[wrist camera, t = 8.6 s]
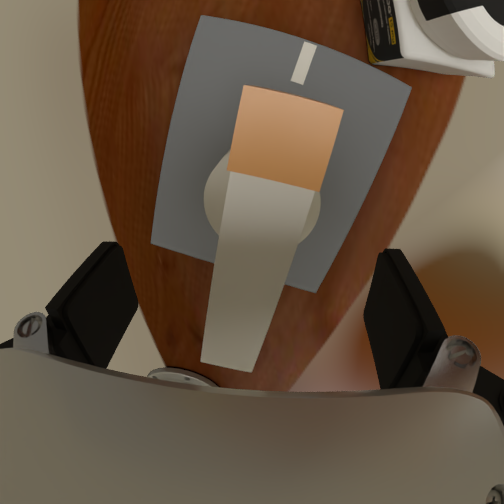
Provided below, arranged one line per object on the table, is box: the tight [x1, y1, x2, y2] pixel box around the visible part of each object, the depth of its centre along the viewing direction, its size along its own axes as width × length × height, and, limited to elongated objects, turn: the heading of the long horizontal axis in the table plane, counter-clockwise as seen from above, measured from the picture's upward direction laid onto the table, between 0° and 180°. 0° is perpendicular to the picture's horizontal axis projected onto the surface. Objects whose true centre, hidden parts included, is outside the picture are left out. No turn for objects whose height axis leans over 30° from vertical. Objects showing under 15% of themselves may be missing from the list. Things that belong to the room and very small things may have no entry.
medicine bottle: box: [361, 0, 504, 78], centre depth 10 cm, size 7×7×12 cm
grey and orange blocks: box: [200, 85, 344, 373], centre depth 13 cm, size 11×6×9 cm, turn 168°
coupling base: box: [151, 15, 412, 293], centre depth 20 cm, size 20×16×6 cm
